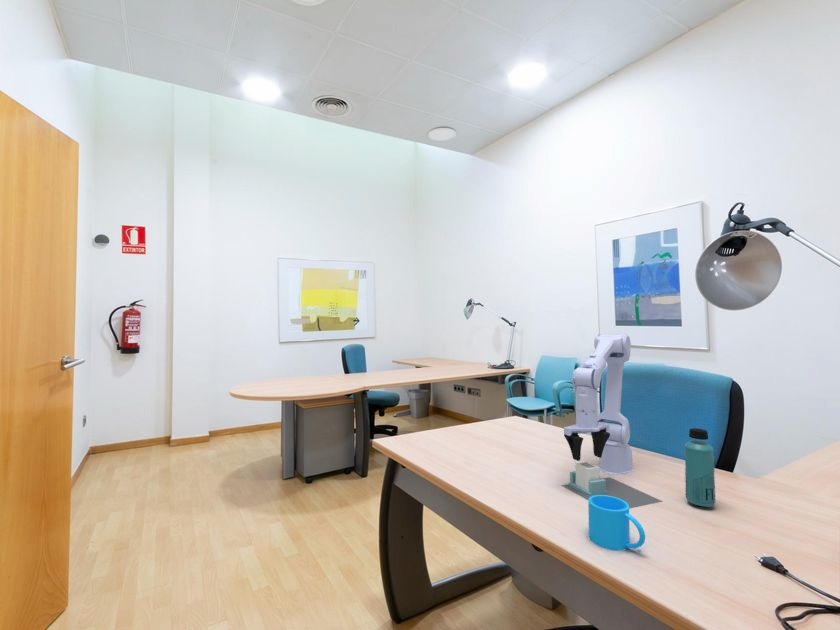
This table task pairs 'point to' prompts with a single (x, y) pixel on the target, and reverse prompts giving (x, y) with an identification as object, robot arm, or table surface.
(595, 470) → the connector plug
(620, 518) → the mug
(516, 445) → the table surface
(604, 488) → the connector holder
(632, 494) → the desk mat
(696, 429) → the beverage bottle
